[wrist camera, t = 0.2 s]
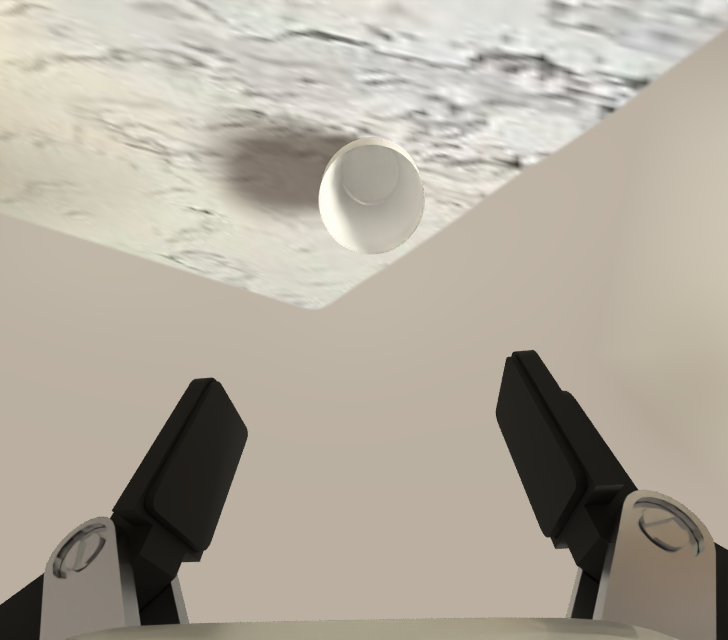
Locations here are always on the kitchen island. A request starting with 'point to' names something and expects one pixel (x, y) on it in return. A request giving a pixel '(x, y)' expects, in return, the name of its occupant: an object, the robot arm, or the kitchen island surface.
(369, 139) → the cup
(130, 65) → the kitchen island surface
